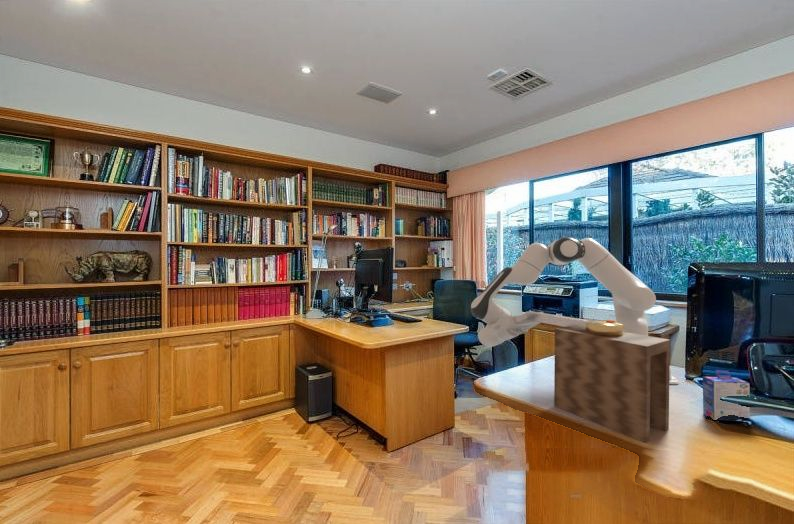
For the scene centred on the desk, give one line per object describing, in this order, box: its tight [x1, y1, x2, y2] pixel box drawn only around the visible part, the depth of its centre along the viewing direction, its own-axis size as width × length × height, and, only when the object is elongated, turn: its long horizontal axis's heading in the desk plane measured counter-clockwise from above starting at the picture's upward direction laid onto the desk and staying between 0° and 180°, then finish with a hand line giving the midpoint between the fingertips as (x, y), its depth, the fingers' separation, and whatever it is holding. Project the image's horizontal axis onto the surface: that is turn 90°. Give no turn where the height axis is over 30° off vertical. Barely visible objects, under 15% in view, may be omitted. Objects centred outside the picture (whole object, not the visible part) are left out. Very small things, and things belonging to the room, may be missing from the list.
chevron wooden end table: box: [553, 326, 671, 444], centre depth 109 cm, size 27×14×26 cm, turn 32°
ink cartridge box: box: [702, 369, 751, 421], centre depth 108 cm, size 10×6×14 cm, turn 82°
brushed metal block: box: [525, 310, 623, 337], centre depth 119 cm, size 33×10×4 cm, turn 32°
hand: (534, 314), depth 131 cm, fingers open, 8 cm apart
